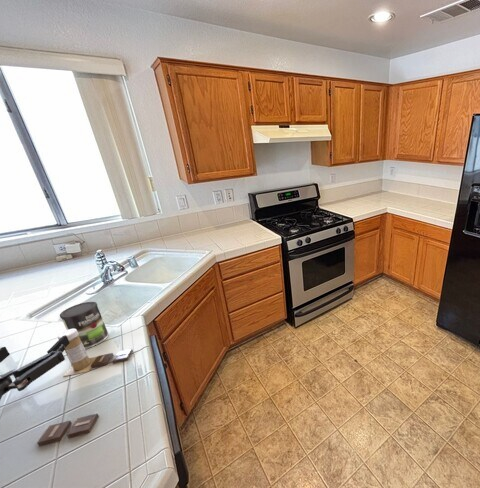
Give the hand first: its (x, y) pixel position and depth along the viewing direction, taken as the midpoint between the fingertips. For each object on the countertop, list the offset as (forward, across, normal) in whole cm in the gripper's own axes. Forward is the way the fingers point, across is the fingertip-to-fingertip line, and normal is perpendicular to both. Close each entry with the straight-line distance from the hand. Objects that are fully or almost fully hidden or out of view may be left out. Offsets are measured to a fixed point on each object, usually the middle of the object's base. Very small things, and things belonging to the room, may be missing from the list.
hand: (37, 344), depth 72 cm
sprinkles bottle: (+10, 0, -18) cm, 20 cm away
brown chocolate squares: (-16, +10, -17) cm, 25 cm away
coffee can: (+26, -4, -18) cm, 31 cm away
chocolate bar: (+11, +6, -17) cm, 21 cm away
